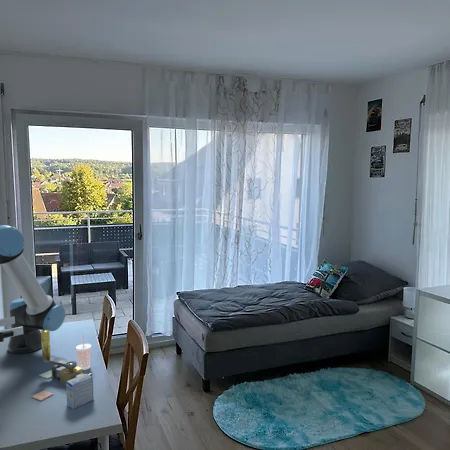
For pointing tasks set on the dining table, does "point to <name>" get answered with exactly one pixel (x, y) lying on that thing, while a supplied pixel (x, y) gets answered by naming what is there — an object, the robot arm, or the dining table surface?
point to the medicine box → (79, 390)
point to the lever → (47, 355)
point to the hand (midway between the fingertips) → (18, 324)
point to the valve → (66, 373)
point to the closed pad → (42, 395)
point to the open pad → (47, 374)
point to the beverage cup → (84, 355)
